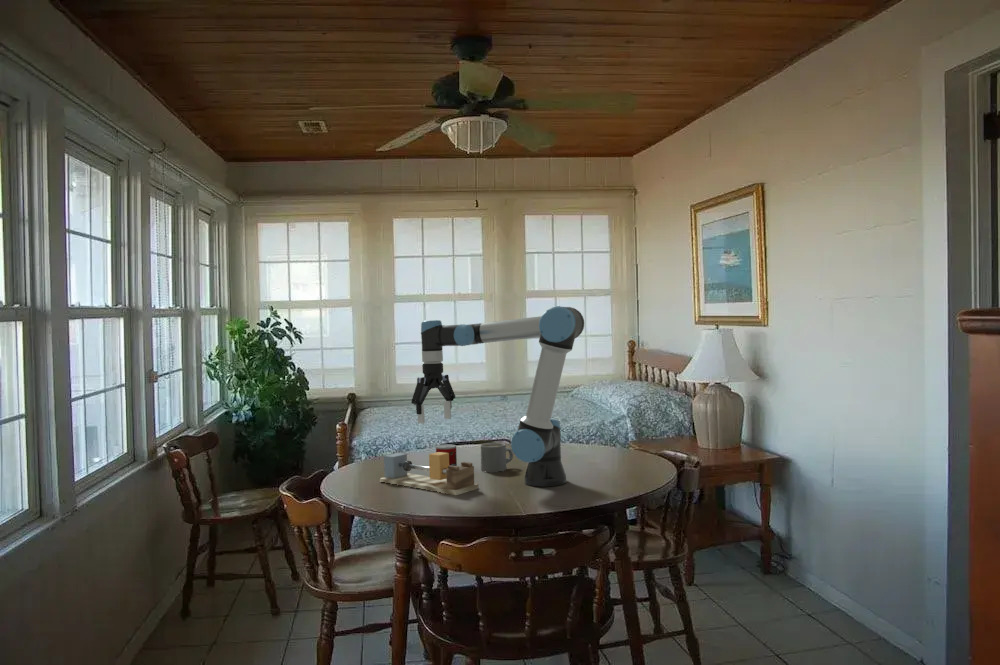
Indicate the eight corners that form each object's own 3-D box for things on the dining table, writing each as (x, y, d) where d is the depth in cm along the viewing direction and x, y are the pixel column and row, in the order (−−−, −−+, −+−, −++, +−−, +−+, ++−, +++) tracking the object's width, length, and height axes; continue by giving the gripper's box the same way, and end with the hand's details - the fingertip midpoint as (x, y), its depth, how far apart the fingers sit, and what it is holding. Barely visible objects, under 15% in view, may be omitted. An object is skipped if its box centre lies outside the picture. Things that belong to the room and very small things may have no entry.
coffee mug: (484, 473, 275) (483, 447, 275) (479, 468, 285) (478, 443, 285) (517, 470, 278) (516, 445, 278) (511, 465, 288) (510, 441, 288)
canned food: (454, 476, 271) (453, 447, 271) (434, 476, 273) (433, 447, 272) (459, 472, 278) (458, 444, 278) (439, 471, 280) (439, 444, 280)
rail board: (478, 488, 250) (477, 462, 250) (456, 495, 241) (455, 468, 240) (402, 476, 273) (402, 452, 273) (379, 482, 264) (379, 457, 264)
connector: (407, 475, 268) (406, 454, 268) (393, 478, 263) (393, 457, 263) (398, 473, 271) (397, 452, 271) (384, 477, 266) (383, 455, 266)
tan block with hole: (449, 477, 254) (448, 453, 254) (440, 480, 250) (439, 455, 250) (439, 476, 257) (438, 451, 257) (429, 478, 253) (429, 454, 253)
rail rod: (459, 477, 250) (459, 466, 250) (452, 479, 247) (452, 468, 247) (402, 468, 268) (401, 458, 268) (394, 470, 265) (394, 460, 265)
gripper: (449, 360, 269) (451, 416, 270) (400, 364, 250) (402, 424, 250) (463, 360, 265) (465, 417, 265) (414, 365, 245) (416, 426, 246)
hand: (434, 421), depth 258 cm, fingers open, 13 cm apart
